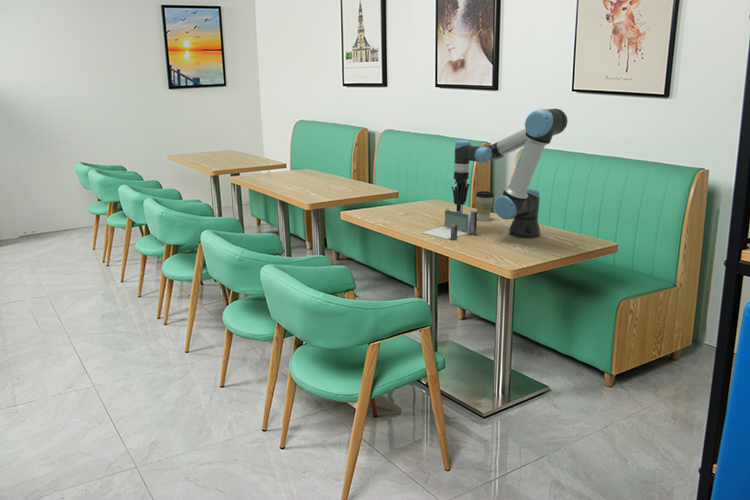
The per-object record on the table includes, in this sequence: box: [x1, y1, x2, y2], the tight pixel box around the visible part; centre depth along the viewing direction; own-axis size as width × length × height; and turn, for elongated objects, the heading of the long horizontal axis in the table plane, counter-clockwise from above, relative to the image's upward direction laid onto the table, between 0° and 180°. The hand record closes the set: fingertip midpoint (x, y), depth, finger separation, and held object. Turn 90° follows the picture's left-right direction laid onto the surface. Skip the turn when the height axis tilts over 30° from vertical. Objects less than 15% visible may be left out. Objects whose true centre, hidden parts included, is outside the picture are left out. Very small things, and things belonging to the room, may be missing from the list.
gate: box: [444, 207, 471, 233], centre depth 315 cm, size 16×2×10 cm, turn 44°
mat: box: [420, 226, 470, 240], centre depth 312 cm, size 17×17×1 cm
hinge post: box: [469, 210, 478, 236], centre depth 308 cm, size 3×3×12 cm
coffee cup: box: [475, 190, 495, 222], centre depth 340 cm, size 10×10×15 cm
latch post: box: [450, 224, 458, 241], centre depth 299 cm, size 2×3×7 cm
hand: (459, 216), depth 321 cm, fingers closed
